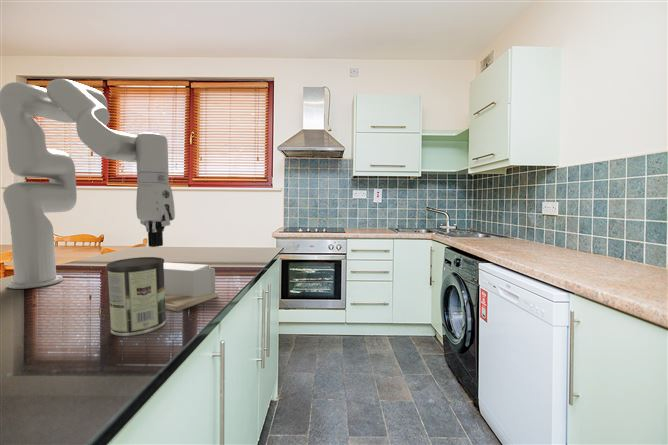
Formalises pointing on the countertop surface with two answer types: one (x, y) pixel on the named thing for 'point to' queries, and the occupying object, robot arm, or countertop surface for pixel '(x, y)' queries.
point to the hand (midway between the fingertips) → (155, 246)
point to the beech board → (185, 301)
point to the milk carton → (188, 279)
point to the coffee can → (136, 295)
